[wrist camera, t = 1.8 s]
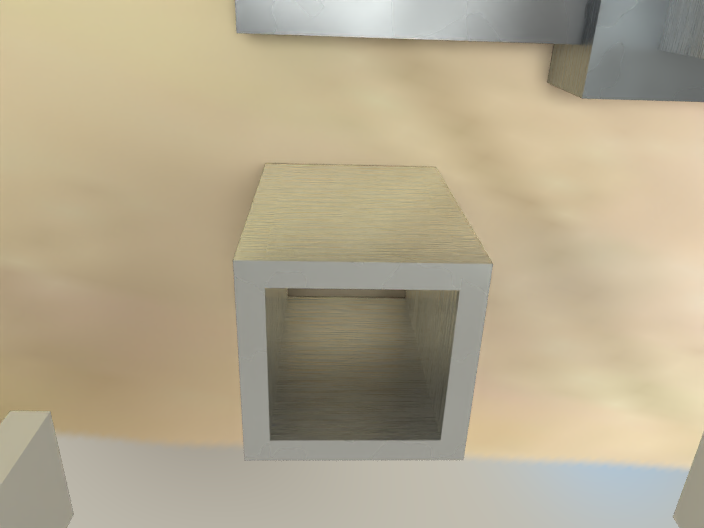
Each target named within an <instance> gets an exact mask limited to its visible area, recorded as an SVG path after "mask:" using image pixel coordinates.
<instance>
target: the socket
mask: <svg viewBox="0 0 704 528" xmlns="http://www.w3.org/2000/svg"><path fill="white" fill-rule="evenodd" d="M492 267H493V263H492V262H491V260H490V258H489V256H488V255H487V253H486V251H485V250H484V248H483V246H482V245H481V243H480V241H479V240H478V238H477V236H476V234H475V233H474V231H473V229H472V228H471V226H470V224H469V223H468V221H467V219H466V218H465V216H464V214H463V212H462V211H461V209H460V207H459V206H458V204H457V202H456V201H455V199H454V197H453V195H452V194H451V192H450V190H449V189H448V187H447V185H446V184H445V182H444V180H443V179H442V177H441V175H440V173H439V172H438V170H437V168H436V167H406V166H362V165H318V164H274V163H266V164H265V167H264V170H263V173H262V176H261V179H260V182H259V185H258V188H257V191H256V194H255V197H254V200H253V203H252V206H251V209H250V212H249V214H248V217H247V220H246V223H245V226H244V229H243V232H242V235H241V238H240V241H239V244H238V247H237V250H236V253H235V256H234V259H233V268H234V286H235V303H236V321H237V338H238V355H239V373H240V390H241V408H242V425H243V442H244V457H245V458H244V459H245V460H463V459H464V452H465V446H466V439H467V432H468V426H469V419H470V413H471V406H472V399H473V393H474V386H475V380H476V373H477V366H478V360H479V353H480V347H481V340H482V333H483V327H484V320H485V314H486V307H487V300H488V294H489V287H490V281H491V274H492ZM288 288H316V289H396V290H406V295H405V298H359V297H288Z"/></svg>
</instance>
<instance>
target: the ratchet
mask: <svg viewBox="0 0 704 528" xmlns="http://www.w3.org/2000/svg"><path fill="white" fill-rule="evenodd" d="M235 8H236V30H237V33H249V34H279V35H309V36H339V37H368V38H398V39H428V40H458V41H488V42H518V43H548V44H554V46H553V52H552V58H551V63H550V69H549V75H548V81H547V83H549V84H552V85H554V86H556V87H558V88H560V89H563V90H565V91H567V92H569V93H571V94H574V95H576V96H578V97H580V98H587V99H621V100H656V101H691V102H704V0H235Z"/></svg>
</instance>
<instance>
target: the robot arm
mask: <svg viewBox="0 0 704 528" xmlns="http://www.w3.org/2000/svg"><path fill="white" fill-rule="evenodd" d="M73 514H74V513H73V509H72V504H71V500H70V495H69V491H68V487H67V482H66V478H65V474H64V469H63V465H62V460H61V456H60V452H59V447H58V443H57V438H56V434H55V430H54V425H53V421H52V416H51V412H50V411H10V412H9V413H8V414H7V416H6V417H5V418H4V420H3V421H2V422H1V423H0V528H67V527H68V525H69V522H70V520H71V519H72V516H73ZM673 518H674V520H675V521H676V523H677V524H678V526H679V527H680V528H704V433H703V435H702V438H701V441H700V444H699V446H698V449H697V452H696V455H695V457H694V460H693V463H692V466H691V468H690V471H689V474H688V477H687V479H686V482H685V485H684V488H683V490H682V493H681V496H680V499H679V501H678V504H677V507H676V510H675V512H674V515H673Z"/></svg>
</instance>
